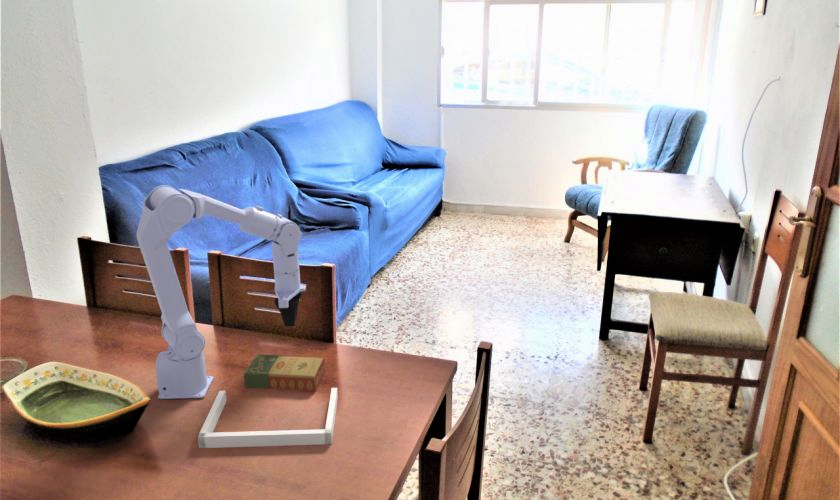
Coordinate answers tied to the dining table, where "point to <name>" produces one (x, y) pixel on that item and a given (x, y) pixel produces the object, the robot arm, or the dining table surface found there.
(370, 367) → the dining table surface
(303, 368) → the carton
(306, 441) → the bay
